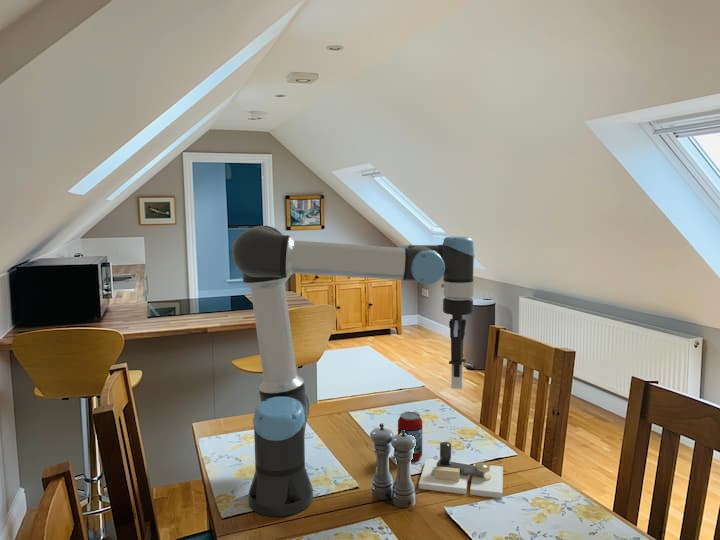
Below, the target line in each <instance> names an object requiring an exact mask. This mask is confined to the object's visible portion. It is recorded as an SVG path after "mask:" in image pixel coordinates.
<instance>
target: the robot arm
mask: <svg viewBox="0 0 720 540" xmlns="http://www.w3.org/2000/svg"><path fill="white" fill-rule="evenodd" d="M231 254H232V255H231V256H232V260H233V263H234V264H235V266H236V268H237V269H238V270H239V271H240V272H241V275H242V281H243V282H242V283H243V284H244V285H245V286H246V287H248V288H249V289H250V294H251V301H252V308H253V314H254V321H255V327H256V328H255V329H256V335H257V344H258V351H259V355H260V357H259V358H260V363H261V370H262V376H263V377H262V378H263V381H262V382H261V383H260V385H259V386H258V392H259V393H258V394H259V398H260V402H259V403H258V404H257V406H256V407H255V409H254V412H253V419H252V424H253V430H254V431H253V432H254V464H255V465H254V467H255V471H254V474H253V476H252V477H253V478H252V480H251V485H250V487H249V492H248V504H249V507H250V509H251V510H252V511H253V512H256V513H258V514H260V515H262V516H265V517H266V516H269V517H285V516H290V515H291V516H292V515H294V514H297V513H300V512H302V511H304V510H305V509H308V507H309V506H310V505H312V502H313V500H314V489H313V485H312V483H311V480H310V477H309V473H308V471H307V468H306V455H305V454H306V453H305V452H306V451H305V449H306V448H305V447H306V446H305V440H306V439H305V434H306V428H307V422H308V417H309V414H310V406H311V405H310V400H309V398H308V395H307V392H306V388H305V381H304V379H303V377H301V376H300V375H298V372H297V371H298V370H297V364H296V357H295V356H296V354H295V349H294V348H295V347H294V343H293V336H292V327H291V321H290V313H289V304H288V299H287V291H286V283H287V281H288V280H289V278H290V277H291V276H292V275H294V274H295V275H313V276H326V277H327V276H330V277H345V278H346V277H347V278H358V279H359V278H362V279H375V280H376V279H378V280H393V281H405V282H416V283H417V282H418V283H420V284H423V285H432V284H435V283H437V282H439V281H441V279H443V284H440V288H442V289H443V291H442V292H443V293H442V295H443V297H444V298H443V299H442V312H443V313H444V314H445V315H451V316H452V318H450V319H449V321H448V324H449V330H450V333H449V337H450V360H449V361H448V365H451V380H450V381H451V382H450V383H451V384H450V385H451V389H457V390H462V389H463V376H464V375H463V367H464V363H466V358H464V337H465V336H466V335H465V334H466V332H465V331H466V325H467V319H466V318H465V319H464V316H468V315H471V314H473V312H474V299H473V297H474V258H475V251H474V240H473V239H472V238H471V237H469V236H445V237H444V238H443V242H442V244H436V245H435V244H434V245H433V244H431V245H429V244H424V245H423V244H422V245H421V244H420V245H419V244H416V245H415V244H406V245H398V246H397V247H396V246H384V245H383V246H380V245H379V246H378V245H365V244H355V243H354V244H352V243H351V244H350V243H341V242H340V243H338V242H337V243H336V242H323V241H309V240H307V241H306V240H296V239H294V237H293V236H292V235H285V234H283V233H282V232H281V231H280V230H278V229H277V228H275V227H273V226H270V225H256V226H253V227H251V228H248V229H246V230H244V231H242V232H241V233H240V234H239V235H237V237H236V239H235V240H234V242H233V244H232V251H231Z"/></svg>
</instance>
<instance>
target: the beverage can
mask: <svg viewBox="0 0 720 540" xmlns="http://www.w3.org/2000/svg"><path fill="white" fill-rule="evenodd" d="M402 430H405V433H406V434H407V435H412V436H414V437H415V439H416V446H415V448H414V453H413V459H412V461H411V462H413V461H417V460H419V459H420V458H422V456H423V419H422V418H421V416H420V414H419V413H417V412H414V411H405V412H402V413H401V414H400V415H399V418H398V420H397V436H398V435H399V434H400V433H401V431H402Z"/></svg>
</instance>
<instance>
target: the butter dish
mask: <svg viewBox="0 0 720 540" xmlns="http://www.w3.org/2000/svg"><path fill="white" fill-rule="evenodd" d="M439 460H440V459H432V458H426V459H425V462H424V466H423V469H422V472H421V476H420V478H419V481H418V489H419V490H420V489H421V490H425V491H426V490H428V491H437V492H445V493H451V494H452V493H454V494H462V495H467V492H468V491H467V490H468V483H469V478H470V477H469V476H470V475H465V474H460V469H458V468H449V467H439V466H437V462H438V461H439ZM451 462H456V463H462V464H467V465H471V463H470V462H462V461H461V462H460V461H452V460H451Z"/></svg>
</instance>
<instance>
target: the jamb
mask: <svg viewBox="0 0 720 540" xmlns="http://www.w3.org/2000/svg"><path fill="white" fill-rule="evenodd" d="M475 464H476V463H473V466H475ZM489 465H490V471H489V472H486V473H485V475H484V477H483V478H482V477H476V476H471V483H470V496H477V497H478V496H480V497H488V498H495V499H496V498H497V499H503V489H504V488H503V487H504V486H503V480H504V466H503V465H502V466H500V465H491V464H489Z"/></svg>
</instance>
